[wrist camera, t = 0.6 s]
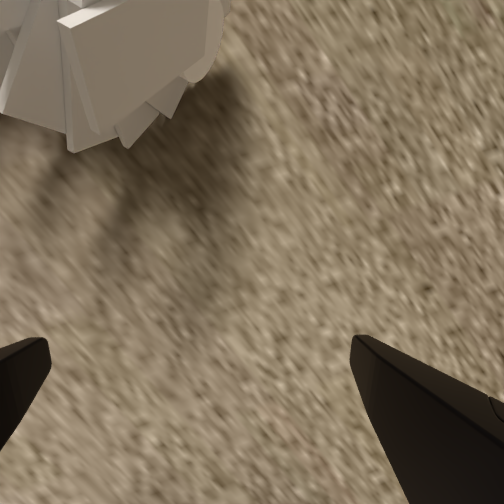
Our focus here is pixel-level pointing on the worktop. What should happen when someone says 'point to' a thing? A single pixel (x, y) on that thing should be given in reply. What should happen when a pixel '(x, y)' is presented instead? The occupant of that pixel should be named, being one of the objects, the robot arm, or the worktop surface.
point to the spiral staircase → (103, 62)
